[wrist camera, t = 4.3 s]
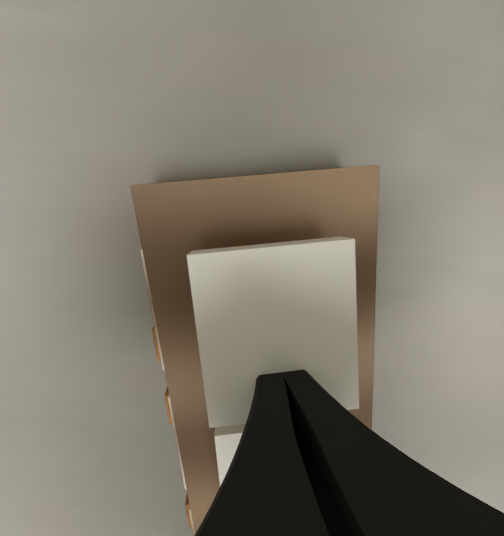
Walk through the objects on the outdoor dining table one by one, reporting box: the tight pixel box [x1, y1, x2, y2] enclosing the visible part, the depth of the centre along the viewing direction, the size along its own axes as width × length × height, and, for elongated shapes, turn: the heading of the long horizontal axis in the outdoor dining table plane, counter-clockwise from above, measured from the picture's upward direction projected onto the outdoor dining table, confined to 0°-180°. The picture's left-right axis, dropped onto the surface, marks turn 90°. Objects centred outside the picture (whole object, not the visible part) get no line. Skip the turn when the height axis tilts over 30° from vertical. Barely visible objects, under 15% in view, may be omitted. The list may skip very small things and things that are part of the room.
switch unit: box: [130, 165, 379, 535], centre depth 13 cm, size 21×8×4 cm, turn 5°
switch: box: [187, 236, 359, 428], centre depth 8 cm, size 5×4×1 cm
